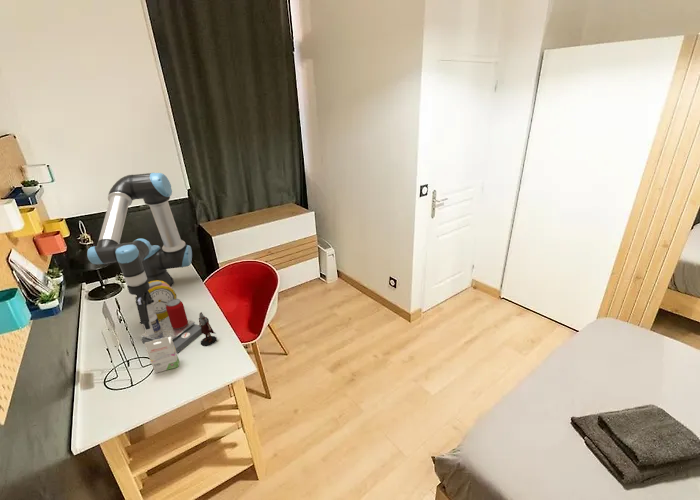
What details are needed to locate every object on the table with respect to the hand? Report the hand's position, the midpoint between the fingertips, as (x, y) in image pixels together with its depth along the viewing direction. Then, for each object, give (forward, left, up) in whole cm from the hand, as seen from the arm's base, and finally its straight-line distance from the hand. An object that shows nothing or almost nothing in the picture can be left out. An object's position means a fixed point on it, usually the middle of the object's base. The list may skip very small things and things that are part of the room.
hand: (151, 325), depth 153 cm
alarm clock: (-15, -13, -8) cm, 21 cm away
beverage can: (-7, +7, -4) cm, 11 cm away
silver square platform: (-4, +4, -5) cm, 8 cm away
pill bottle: (0, 0, -4) cm, 4 cm away
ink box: (+11, +18, -8) cm, 23 cm away
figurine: (-7, +23, -8) cm, 25 cm away
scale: (-4, +6, -8) cm, 11 cm away
